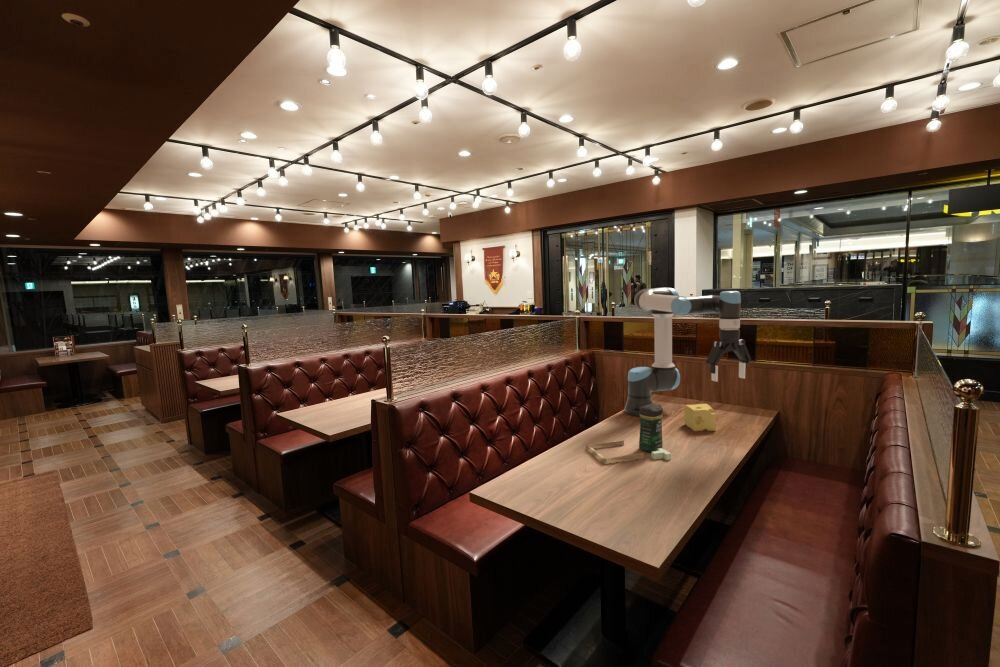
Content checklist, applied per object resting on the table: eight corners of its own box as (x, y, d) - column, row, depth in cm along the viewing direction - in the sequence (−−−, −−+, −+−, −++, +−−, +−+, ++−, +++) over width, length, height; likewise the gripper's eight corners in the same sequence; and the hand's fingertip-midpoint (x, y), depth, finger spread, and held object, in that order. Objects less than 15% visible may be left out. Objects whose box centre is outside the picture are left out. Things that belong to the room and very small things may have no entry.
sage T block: (648, 455, 172) (648, 449, 172) (661, 453, 174) (661, 448, 173) (657, 461, 166) (657, 455, 166) (671, 459, 168) (671, 453, 167)
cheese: (716, 431, 196) (716, 409, 195) (692, 431, 196) (692, 410, 195) (706, 423, 207) (706, 403, 205) (683, 424, 207) (683, 403, 206)
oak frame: (586, 449, 181) (585, 444, 181) (622, 444, 185) (622, 439, 185) (603, 464, 166) (603, 459, 165) (643, 458, 169) (643, 453, 169)
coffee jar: (653, 454, 173) (653, 409, 171) (636, 449, 179) (636, 405, 177) (666, 447, 179) (666, 404, 177) (648, 442, 185) (648, 400, 183)
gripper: (710, 331, 171) (709, 384, 173) (762, 327, 177) (760, 378, 179) (697, 330, 178) (696, 380, 180) (747, 326, 184) (745, 374, 186)
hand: (728, 379), depth 180 cm, fingers open, 13 cm apart
